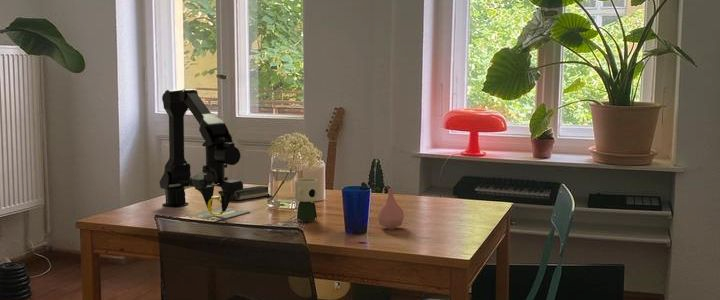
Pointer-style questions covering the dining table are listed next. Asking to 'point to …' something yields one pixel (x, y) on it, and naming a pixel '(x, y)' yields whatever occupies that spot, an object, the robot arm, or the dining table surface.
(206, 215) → the subfloor panel
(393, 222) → the pink teardrop shape
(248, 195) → the black sponge
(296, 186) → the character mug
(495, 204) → the dining table surface
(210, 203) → the watch
